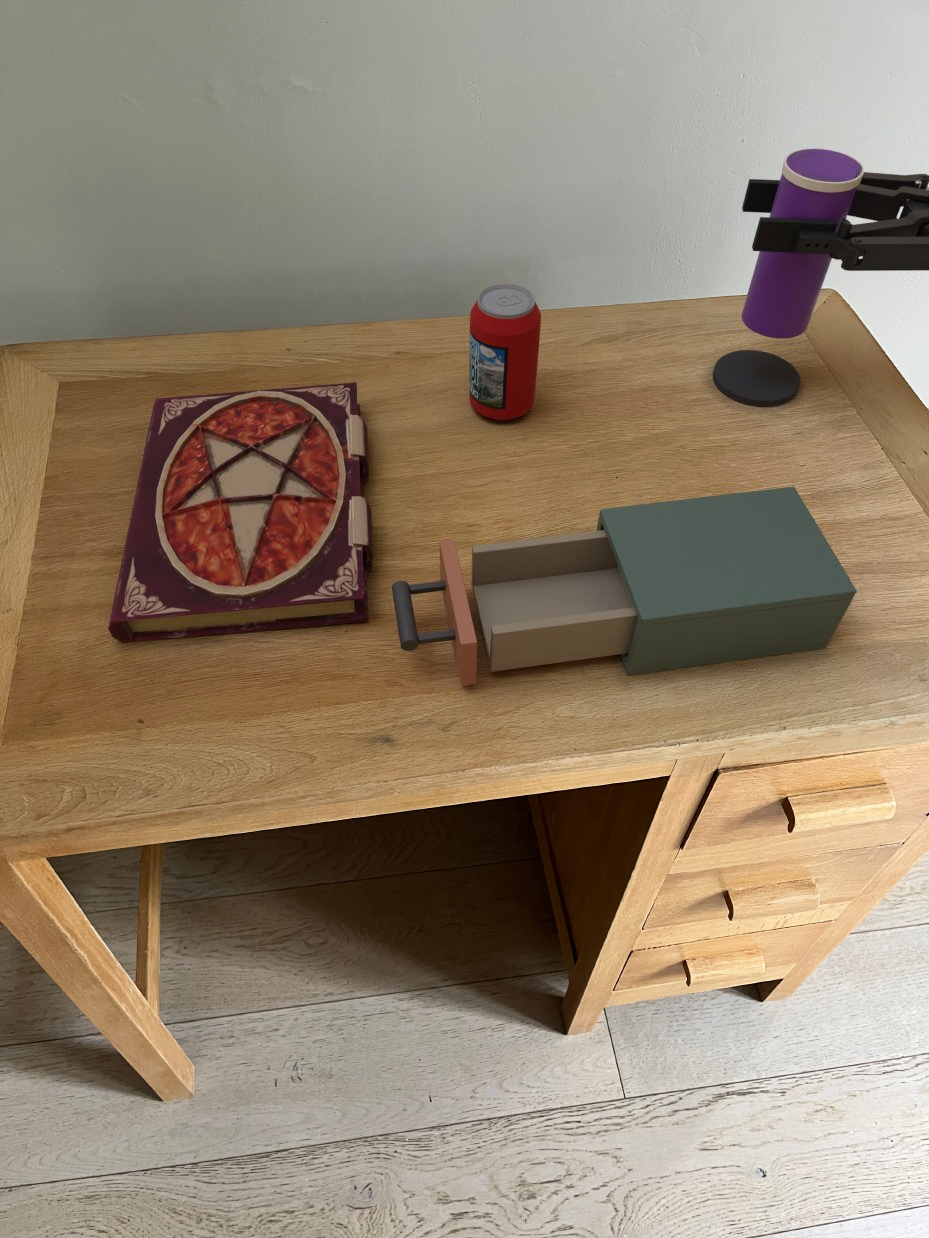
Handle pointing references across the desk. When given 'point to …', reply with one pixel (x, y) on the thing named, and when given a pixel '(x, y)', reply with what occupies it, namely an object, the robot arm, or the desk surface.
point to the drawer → (528, 603)
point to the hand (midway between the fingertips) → (751, 214)
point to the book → (248, 516)
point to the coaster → (756, 378)
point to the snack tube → (796, 279)
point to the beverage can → (503, 351)
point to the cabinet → (725, 578)
